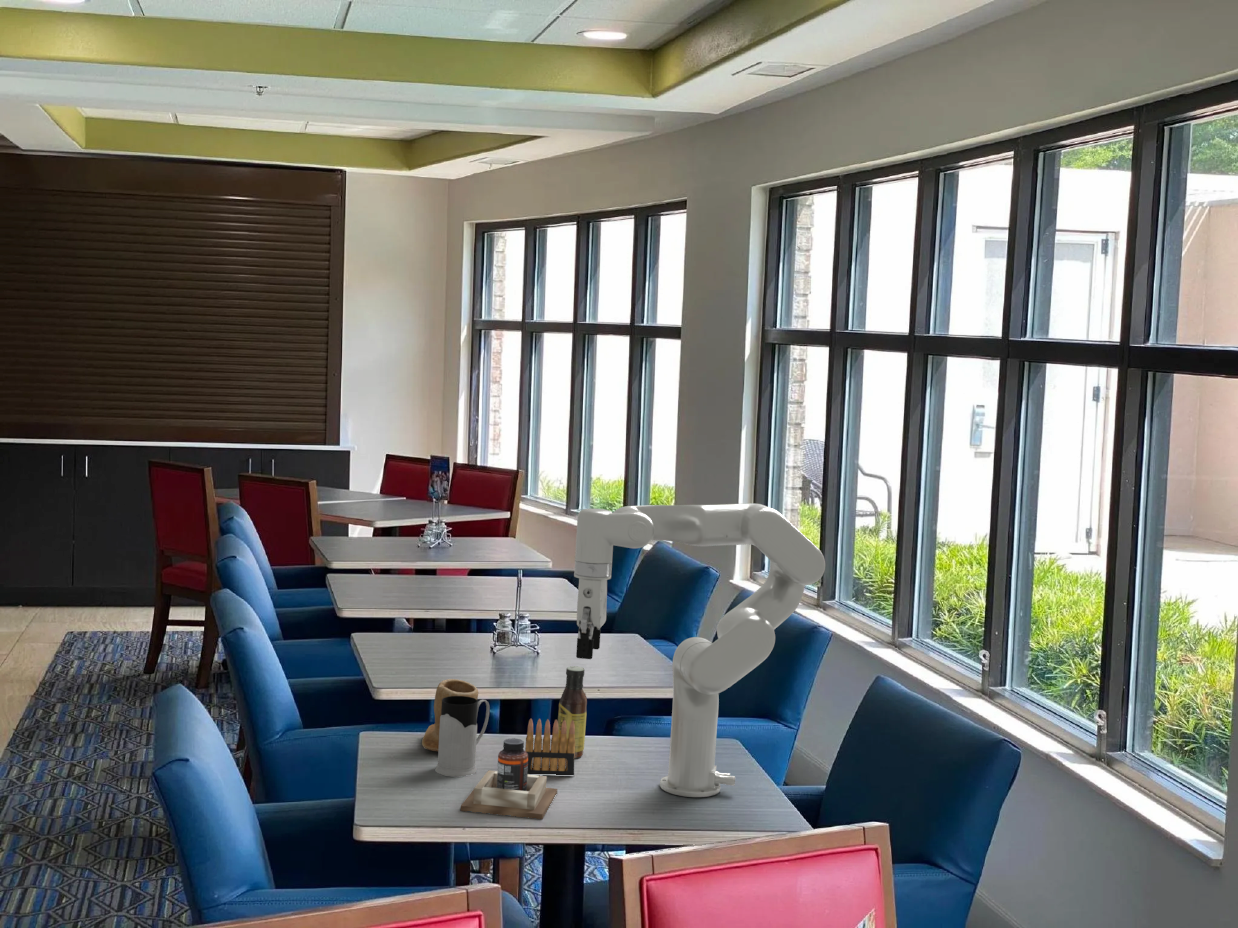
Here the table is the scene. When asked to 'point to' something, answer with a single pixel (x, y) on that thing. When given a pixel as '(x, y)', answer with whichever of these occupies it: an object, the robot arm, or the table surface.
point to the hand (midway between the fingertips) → (588, 653)
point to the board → (510, 797)
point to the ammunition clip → (556, 758)
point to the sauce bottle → (574, 707)
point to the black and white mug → (459, 735)
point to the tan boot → (443, 690)
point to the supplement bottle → (512, 766)
